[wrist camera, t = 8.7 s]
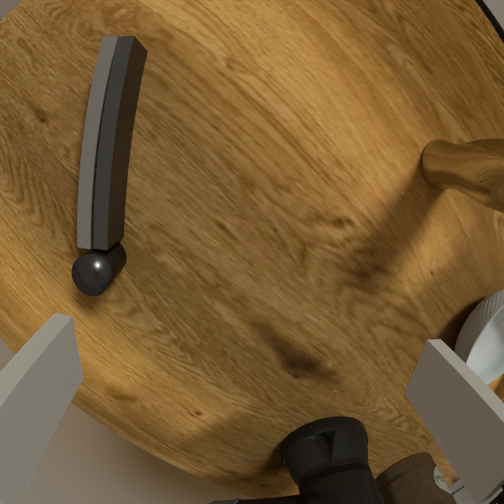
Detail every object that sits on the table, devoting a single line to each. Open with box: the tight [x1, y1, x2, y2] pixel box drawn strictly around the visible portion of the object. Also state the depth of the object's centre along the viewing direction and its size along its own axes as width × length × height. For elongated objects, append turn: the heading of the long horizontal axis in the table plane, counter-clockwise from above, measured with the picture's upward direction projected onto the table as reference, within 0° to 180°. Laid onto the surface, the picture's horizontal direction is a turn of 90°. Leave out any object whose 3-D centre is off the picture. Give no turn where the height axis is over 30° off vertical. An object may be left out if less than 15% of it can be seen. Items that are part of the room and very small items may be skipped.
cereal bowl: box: [454, 290, 504, 385], centre depth 37 cm, size 17×17×7 cm
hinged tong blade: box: [77, 36, 119, 249], centre depth 25 cm, size 20×2×5 cm, turn 171°
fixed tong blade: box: [72, 36, 148, 296], centre depth 26 cm, size 24×4×6 cm, turn 171°
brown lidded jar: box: [377, 453, 457, 504], centre depth 43 cm, size 15×15×22 cm
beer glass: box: [421, 138, 504, 213], centre depth 24 cm, size 7×7×15 cm
